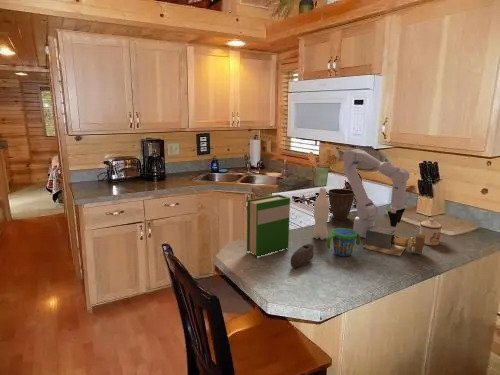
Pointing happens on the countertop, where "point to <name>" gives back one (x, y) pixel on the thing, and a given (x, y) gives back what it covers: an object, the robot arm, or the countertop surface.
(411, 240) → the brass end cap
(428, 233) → the teacup with lid
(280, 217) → the hardback book
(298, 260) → the perforated stone tool
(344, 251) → the snack cup
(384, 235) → the gunmetal housing
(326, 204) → the water bottle
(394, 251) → the mounting board
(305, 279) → the countertop surface
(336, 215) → the plant pot
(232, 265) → the countertop surface
